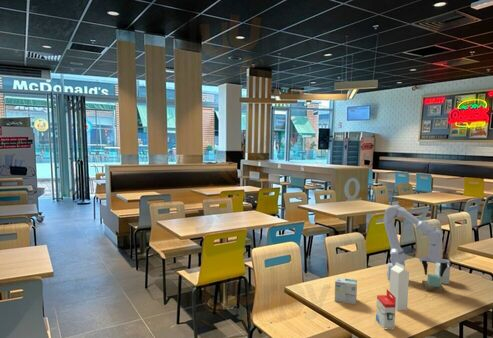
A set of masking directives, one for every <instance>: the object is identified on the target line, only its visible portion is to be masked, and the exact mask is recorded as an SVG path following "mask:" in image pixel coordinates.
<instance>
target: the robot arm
mask: <svg viewBox="0 0 493 338" xmlns="http://www.w3.org/2000/svg"><path fill="white" fill-rule="evenodd" d="M396 218H404V219H406V220H407V221H409V222H410V223H412V224H413V225H415V226H416V229H418V231H420V232H422V233H423V234H424V235H426V236H427V237H428V239H429V243H428V244H429V246H428V256H427V257H423V256H421V257H419V262H420V263H422V264H421V265H422V267H423V271H424V275H425V276H428V263H432V264H433V263H434V264H436V263H440V276H441V277H442V276H443V273H444V271H445V269H446V268H447V266H448V265H450V260H449V259H443V258H441V254H442V238H444V233H443V231H442V230H440V229H439V228H436V227H435V226H433V225H431V224H429V222H428V221H427V220H426V221H425V220H420V219H419V218H417V217H416V216H415V215H413V214H412V213H411V212H409V211H408V210H406V209H405V207H403V206H401V205H400V204H394V205H391V206H388V207H387V208H386V209H385V210H384V215H383V221H382V222H383V224H384V227H385V232H386V235H387V238H388V242H389V246H390V252H389V254H390V258H389V259H390V262H388V263H387V265H386V266H387V269H386V276H387V279H388V280H389V281H390V269H391V268H392V267H393V266H395V265H396V262H397V263H399V264H401V265H403V266H404V269H405V268H406V267H405V266H406V264H405V262H406V260H407V254H406V253H405V252H404V248H402V247H401V244H400V240H399V237H398V234H397V233H398V232H397V230H396V227H395V222H394V221H395V219H396ZM447 264H448V265H447ZM405 270H406V269H405Z"/></svg>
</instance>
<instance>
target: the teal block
mask: <svg viewBox="0 0 493 338" xmlns="http://www.w3.org/2000/svg"><path fill="white" fill-rule="evenodd" d="M426 281H427V283H428V285H429V286H434V287H439V286H440V278H439V276H438V275H435V273H433V274H432V273H427V279H426Z"/></svg>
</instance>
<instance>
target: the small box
mask: <svg viewBox="0 0 493 338" xmlns="http://www.w3.org/2000/svg"><path fill="white" fill-rule="evenodd" d="M447 265H448V266H447V268H446V269H445V271H444V273H443V276H442V277H441V276H440V263H435V267H434V269H435V270H434V271H435V272H434V275H438V276H439V278H440V283H441V285H443V284H444V285H450V275H451V274H450V273H451V270H450V269H451V266H450V264H447Z"/></svg>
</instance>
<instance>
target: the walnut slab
mask: <svg viewBox="0 0 493 338" xmlns="http://www.w3.org/2000/svg"><path fill="white" fill-rule="evenodd" d="M421 284H422V287H423V288H424V290H425V292H432V293H439V294H440V293H441V294H445V288H444V286H443V284H442V283H440V286H439V287H434V286H429V285H428V283H427V280H424V279H422V283H421Z"/></svg>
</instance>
